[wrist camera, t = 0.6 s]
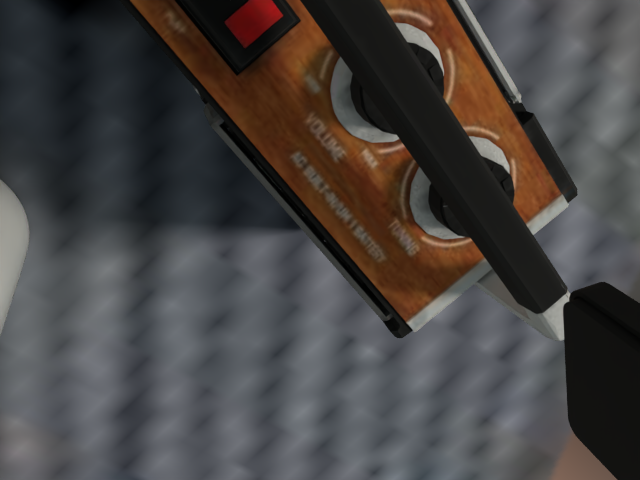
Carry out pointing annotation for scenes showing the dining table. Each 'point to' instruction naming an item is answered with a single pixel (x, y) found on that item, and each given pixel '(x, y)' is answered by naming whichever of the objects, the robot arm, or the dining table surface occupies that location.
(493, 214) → the radio cassette player
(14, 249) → the candle holder
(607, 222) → the dining table surface
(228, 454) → the dining table surface
